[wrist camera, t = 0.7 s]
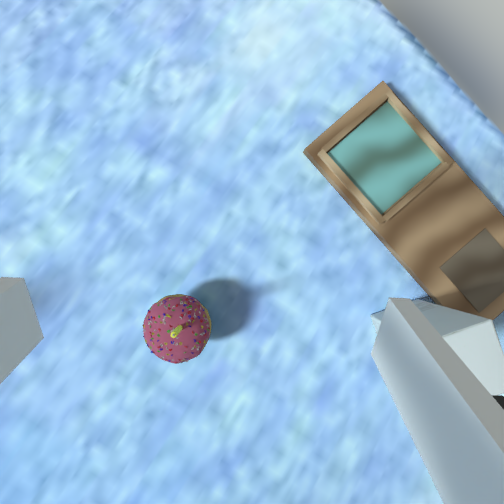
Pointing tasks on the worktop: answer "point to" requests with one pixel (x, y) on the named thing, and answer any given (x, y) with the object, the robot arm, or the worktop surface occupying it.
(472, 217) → the board
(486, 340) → the supplement box
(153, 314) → the cupcake
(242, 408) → the worktop surface
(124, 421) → the worktop surface
